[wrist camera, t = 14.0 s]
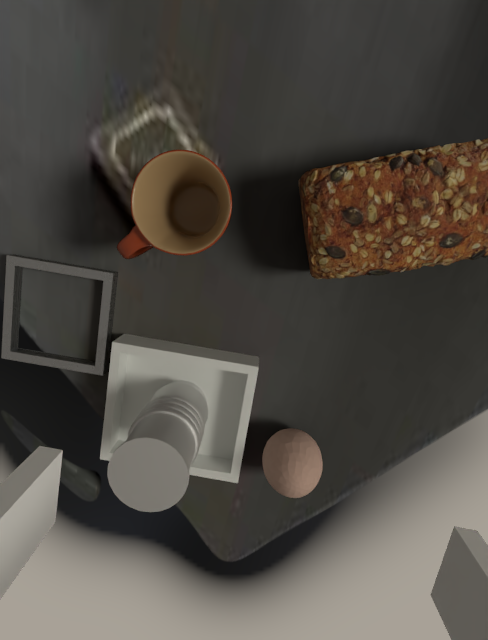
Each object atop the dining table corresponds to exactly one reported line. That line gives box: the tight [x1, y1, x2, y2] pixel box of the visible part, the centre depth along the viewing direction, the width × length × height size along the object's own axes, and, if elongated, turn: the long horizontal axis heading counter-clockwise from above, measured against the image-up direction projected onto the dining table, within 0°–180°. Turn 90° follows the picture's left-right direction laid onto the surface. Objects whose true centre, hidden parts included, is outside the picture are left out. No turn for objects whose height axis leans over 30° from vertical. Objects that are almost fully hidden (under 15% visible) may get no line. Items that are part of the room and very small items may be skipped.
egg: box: [262, 428, 323, 498], centre depth 46 cm, size 7×7×9 cm
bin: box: [100, 334, 259, 483], centre depth 48 cm, size 14×16×4 cm
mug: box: [117, 150, 232, 259], centre depth 41 cm, size 12×9×10 cm
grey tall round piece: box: [108, 380, 208, 512], centre depth 41 cm, size 7×7×15 cm
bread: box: [298, 139, 488, 279], centre depth 40 cm, size 19×11×10 cm, turn 98°
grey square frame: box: [1, 255, 118, 376], centre depth 47 cm, size 12×12×2 cm
